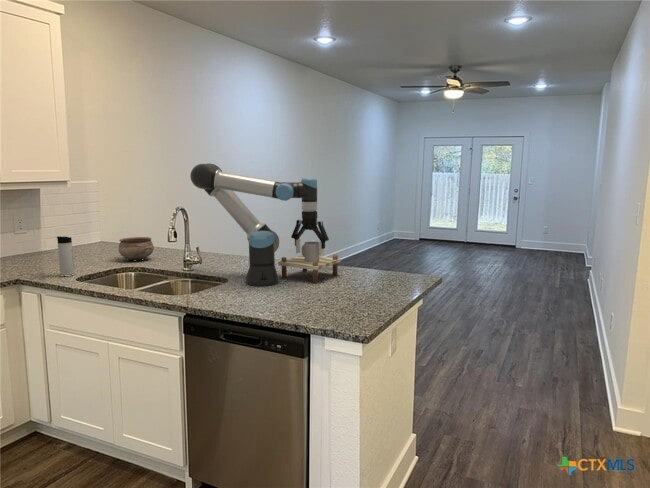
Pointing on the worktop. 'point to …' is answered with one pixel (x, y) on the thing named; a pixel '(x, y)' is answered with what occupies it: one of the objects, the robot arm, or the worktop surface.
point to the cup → (311, 251)
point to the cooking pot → (136, 247)
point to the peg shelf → (309, 265)
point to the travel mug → (65, 255)
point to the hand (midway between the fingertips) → (309, 254)
